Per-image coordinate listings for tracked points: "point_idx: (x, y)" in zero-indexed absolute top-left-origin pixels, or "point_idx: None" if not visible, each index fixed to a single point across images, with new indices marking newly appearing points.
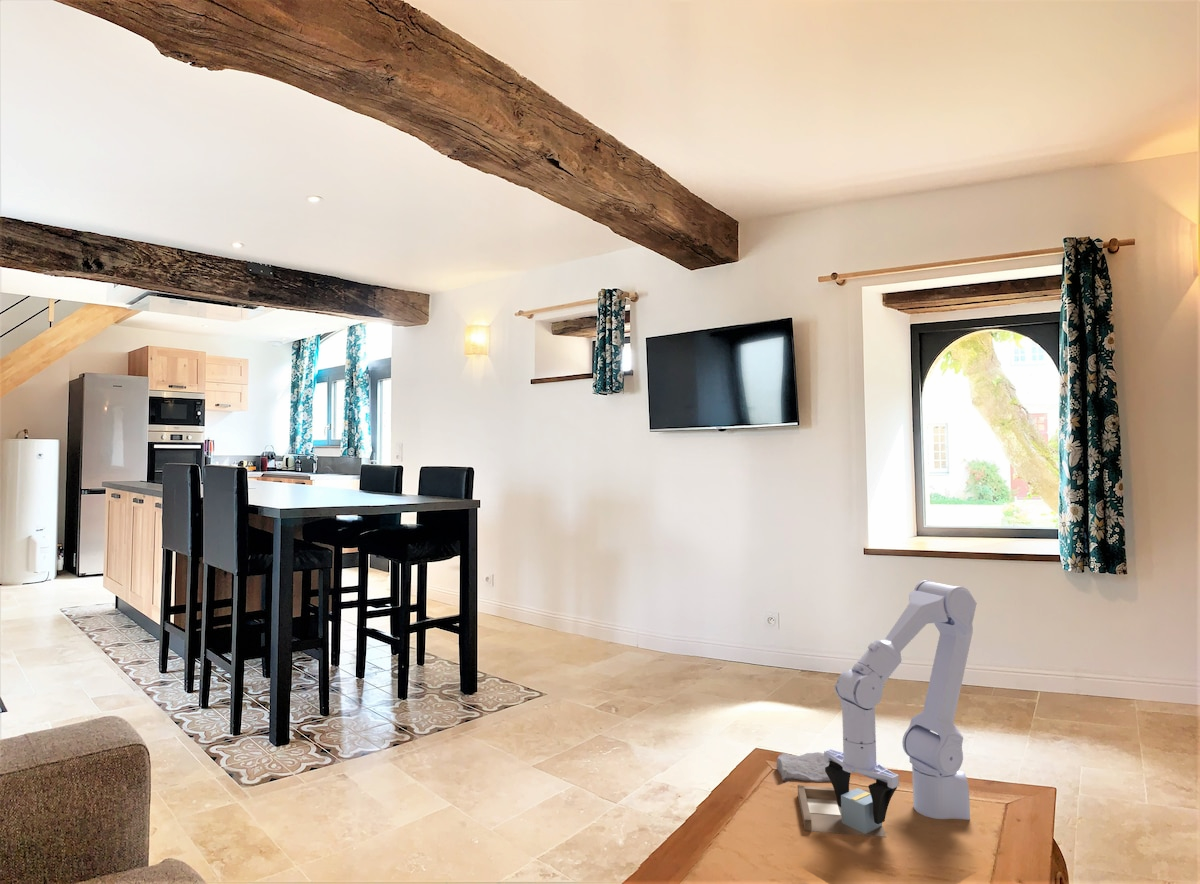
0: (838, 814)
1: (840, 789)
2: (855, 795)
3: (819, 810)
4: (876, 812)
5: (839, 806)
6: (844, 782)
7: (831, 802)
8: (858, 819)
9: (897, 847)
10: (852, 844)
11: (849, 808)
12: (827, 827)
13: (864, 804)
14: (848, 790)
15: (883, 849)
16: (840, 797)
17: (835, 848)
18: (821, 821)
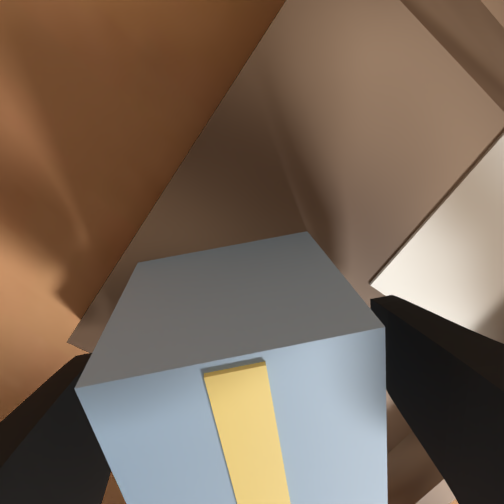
0: (381, 278)
1: (460, 392)
2: (298, 438)
3: (481, 212)
4: (17, 415)
5: (388, 296)
6: (493, 495)
7: (489, 332)
8: (178, 286)
9: (35, 342)
10: (142, 154)
11: (263, 297)
12: (310, 100)
13: (98, 402)
14: (427, 447)
15: (37, 271)
16: (411, 337)
17: (139, 7)
18: (388, 123)
